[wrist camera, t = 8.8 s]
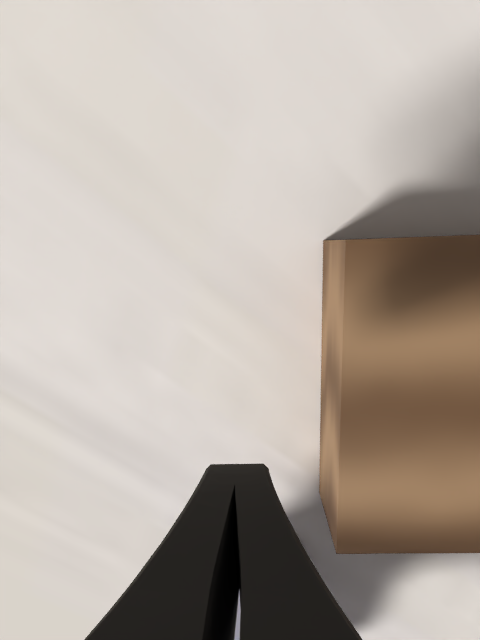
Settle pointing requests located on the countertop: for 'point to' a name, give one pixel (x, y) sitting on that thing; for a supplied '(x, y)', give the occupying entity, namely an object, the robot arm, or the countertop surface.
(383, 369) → the board
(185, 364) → the countertop surface
